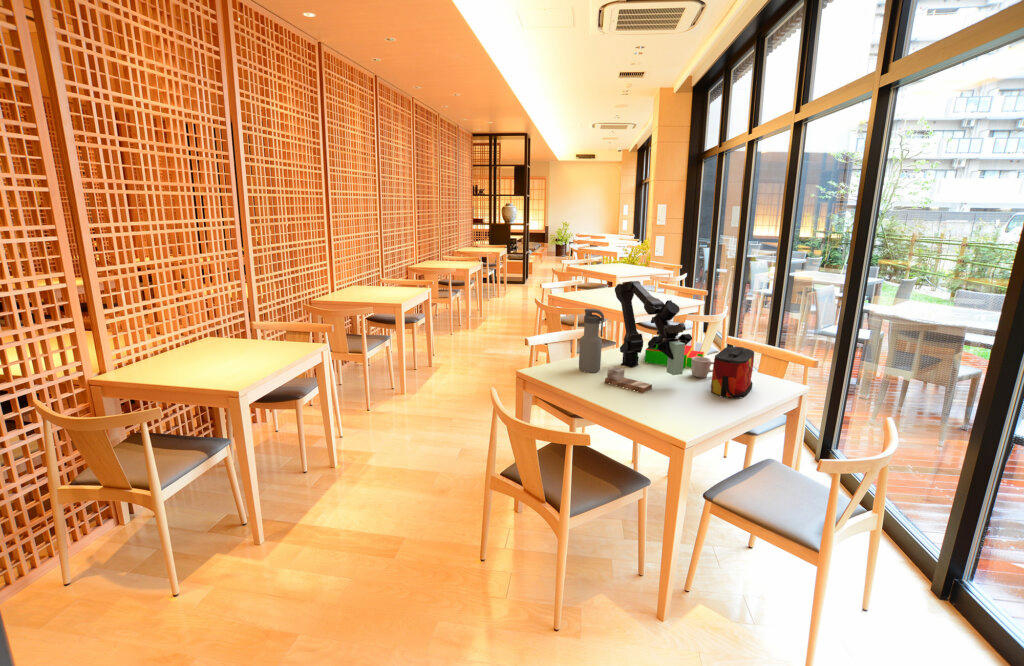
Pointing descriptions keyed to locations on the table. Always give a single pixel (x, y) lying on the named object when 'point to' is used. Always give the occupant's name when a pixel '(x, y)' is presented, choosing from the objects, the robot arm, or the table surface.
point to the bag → (732, 372)
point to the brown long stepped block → (625, 380)
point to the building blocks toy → (661, 358)
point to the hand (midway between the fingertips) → (677, 358)
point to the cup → (701, 366)
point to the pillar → (676, 358)
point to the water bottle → (591, 342)
